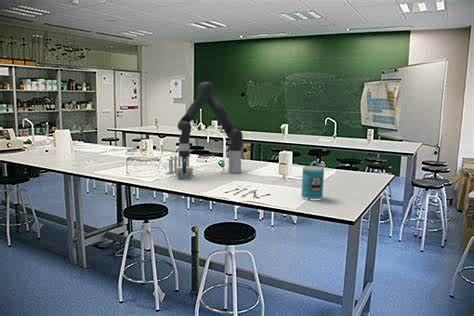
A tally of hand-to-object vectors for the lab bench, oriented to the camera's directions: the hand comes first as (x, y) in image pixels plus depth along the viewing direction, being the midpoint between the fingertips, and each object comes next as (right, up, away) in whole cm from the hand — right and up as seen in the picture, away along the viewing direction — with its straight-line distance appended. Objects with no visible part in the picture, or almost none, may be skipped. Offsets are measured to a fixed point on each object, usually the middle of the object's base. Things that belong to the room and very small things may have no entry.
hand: (184, 172), depth 261 cm
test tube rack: (-7, 0, +23) cm, 24 cm away
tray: (0, -4, +2) cm, 4 cm away
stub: (0, -3, +2) cm, 4 cm away
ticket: (-1, -3, +9) cm, 9 cm away
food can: (+81, -13, -44) cm, 94 cm away
